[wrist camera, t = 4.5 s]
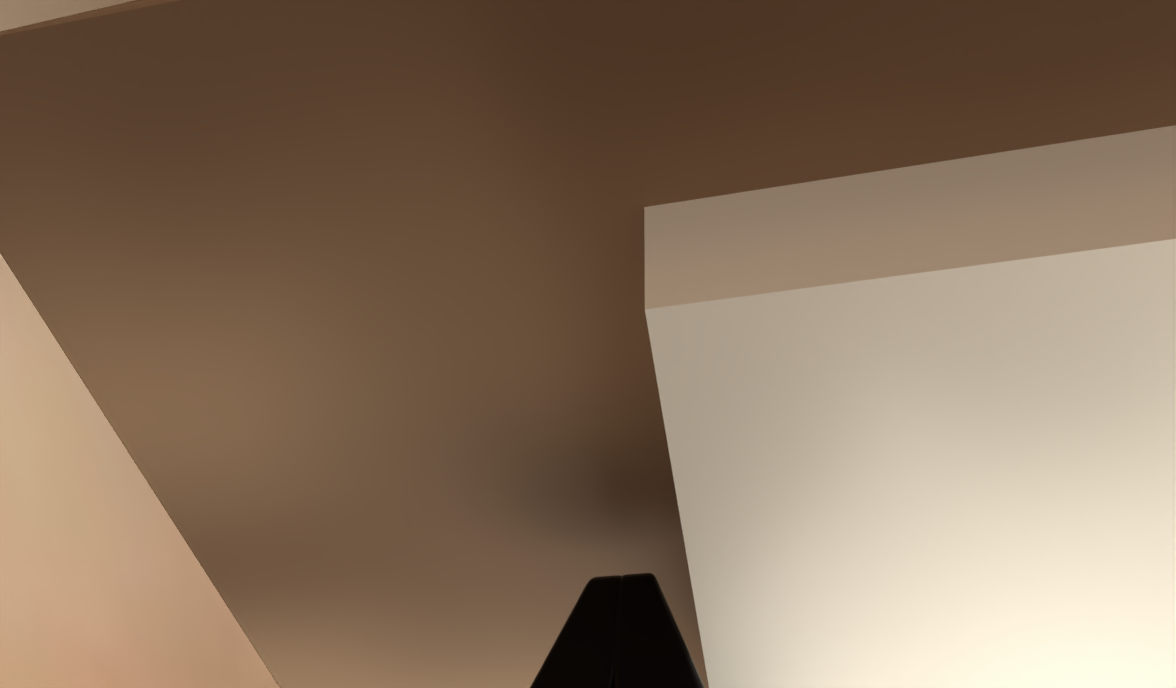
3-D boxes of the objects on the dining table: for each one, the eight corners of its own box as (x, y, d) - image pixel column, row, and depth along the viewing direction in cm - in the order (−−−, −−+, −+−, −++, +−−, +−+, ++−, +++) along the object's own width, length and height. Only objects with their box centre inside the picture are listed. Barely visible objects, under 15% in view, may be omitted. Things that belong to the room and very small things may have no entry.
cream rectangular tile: (1142, 720, 11) (1235, 876, 9) (728, 737, 12) (741, 882, 10) (1358, 96, 6) (1632, 178, 4) (644, 207, 7) (644, 309, 5)
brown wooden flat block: (1275, 595, 15) (1462, 806, 11) (422, 642, 17) (369, 825, 14) (1699, -311, 8) (2556, -469, 4) (132, 0, 10) (-125, 60, 7)
